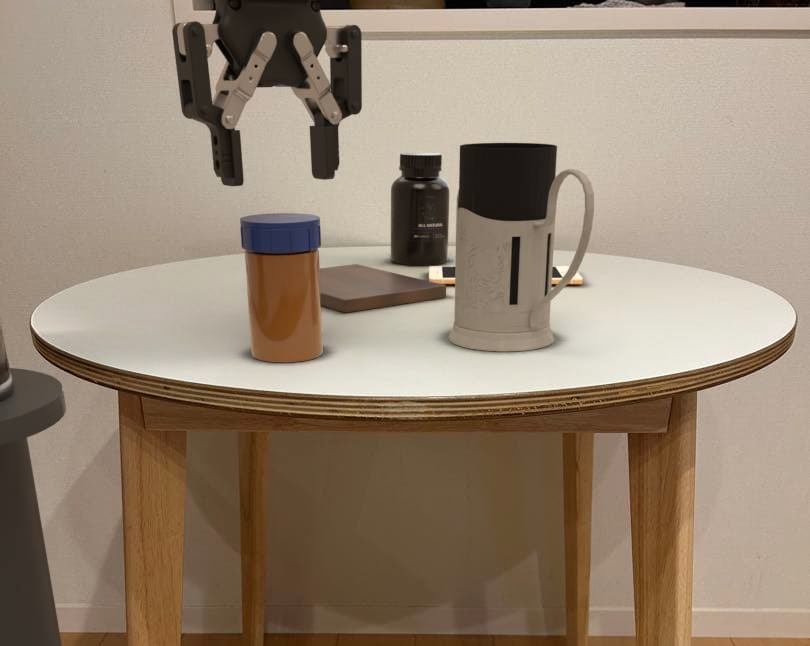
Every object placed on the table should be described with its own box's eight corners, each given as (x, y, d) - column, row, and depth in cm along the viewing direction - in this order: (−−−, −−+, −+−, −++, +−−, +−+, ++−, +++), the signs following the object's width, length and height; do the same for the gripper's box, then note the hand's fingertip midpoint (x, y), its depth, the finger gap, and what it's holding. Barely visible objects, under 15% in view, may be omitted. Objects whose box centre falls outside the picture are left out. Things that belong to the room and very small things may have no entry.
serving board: (345, 313, 93) (344, 299, 93) (261, 287, 105) (260, 275, 105) (446, 297, 100) (446, 285, 99) (356, 274, 112) (356, 263, 111)
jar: (273, 366, 76) (265, 231, 72) (238, 351, 80) (229, 223, 76) (336, 355, 79) (332, 225, 75) (299, 341, 83) (293, 218, 79)
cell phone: (583, 284, 105) (583, 278, 105) (428, 284, 105) (428, 278, 105) (573, 271, 112) (573, 266, 112) (428, 271, 112) (428, 266, 112)
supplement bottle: (429, 268, 116) (430, 156, 111) (379, 263, 119) (378, 154, 114) (458, 259, 121) (460, 152, 116) (410, 255, 124) (410, 150, 119)
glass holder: (510, 322, 90) (517, 141, 83) (622, 356, 79) (640, 150, 72) (428, 334, 85) (429, 144, 79) (535, 372, 74) (546, 155, 68)
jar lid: (266, 255, 73) (264, 225, 72) (228, 245, 77) (226, 217, 76) (335, 247, 76) (335, 218, 75) (295, 238, 80) (294, 211, 79)
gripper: (189, -94, 61) (214, 193, 68) (383, -78, 69) (388, 179, 76) (140, -80, 66) (167, 185, 73) (324, -66, 74) (334, 172, 81)
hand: (279, 181), depth 74 cm, fingers open, 7 cm apart
